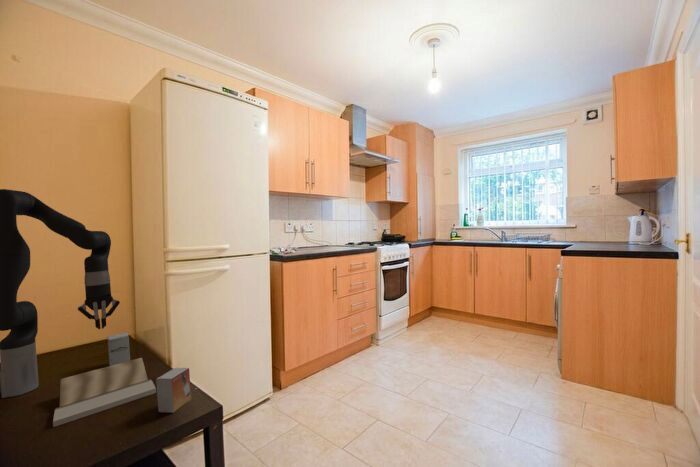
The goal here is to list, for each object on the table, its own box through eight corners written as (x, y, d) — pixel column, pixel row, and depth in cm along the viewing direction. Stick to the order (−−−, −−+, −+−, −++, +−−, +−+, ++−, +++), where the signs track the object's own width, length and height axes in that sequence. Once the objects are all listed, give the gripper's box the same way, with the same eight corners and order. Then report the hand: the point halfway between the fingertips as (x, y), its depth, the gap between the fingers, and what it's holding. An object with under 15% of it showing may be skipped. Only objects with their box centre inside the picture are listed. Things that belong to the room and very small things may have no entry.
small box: (173, 413, 94) (171, 379, 94) (157, 412, 96) (155, 378, 95) (192, 399, 102) (189, 367, 102) (177, 398, 103) (175, 367, 103)
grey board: (53, 427, 91) (52, 421, 91) (55, 413, 99) (55, 408, 99) (156, 392, 108) (155, 388, 108) (151, 383, 116) (151, 379, 116)
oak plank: (60, 410, 100) (59, 406, 100) (61, 382, 110) (60, 379, 110) (148, 383, 116) (147, 379, 115) (142, 360, 126) (141, 357, 125)
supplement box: (109, 369, 132) (107, 339, 132) (109, 364, 138) (107, 335, 138) (130, 363, 137) (128, 335, 137) (129, 359, 142) (127, 331, 142)
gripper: (118, 279, 126) (121, 322, 126) (74, 285, 117) (78, 331, 117) (120, 281, 120) (123, 325, 120) (74, 287, 111) (77, 335, 112)
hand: (101, 328), depth 119 cm, fingers closed
